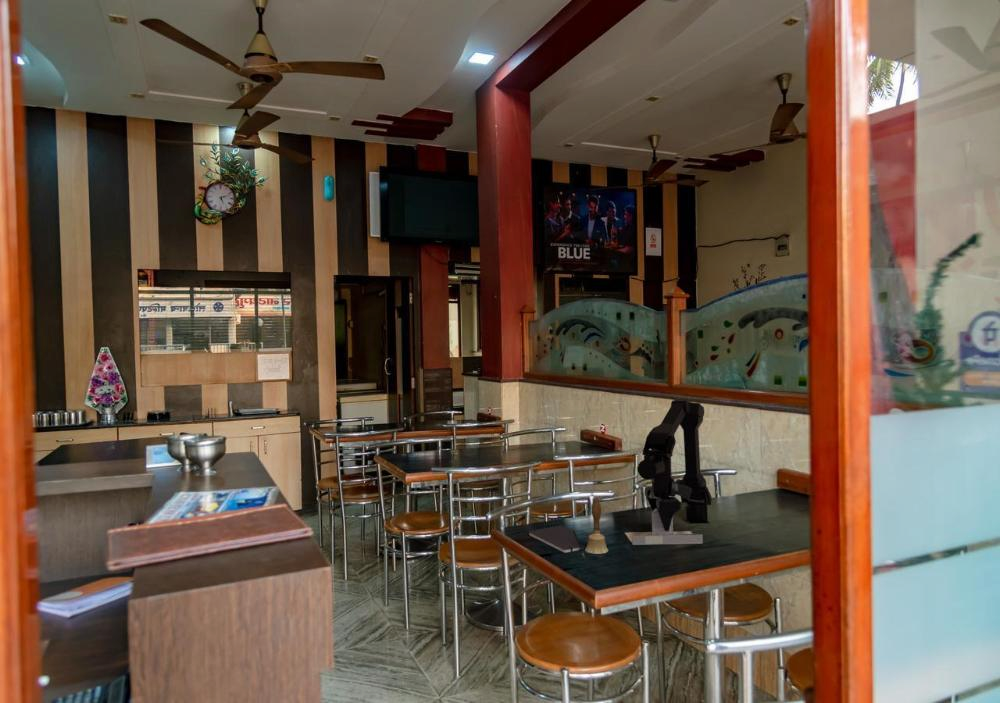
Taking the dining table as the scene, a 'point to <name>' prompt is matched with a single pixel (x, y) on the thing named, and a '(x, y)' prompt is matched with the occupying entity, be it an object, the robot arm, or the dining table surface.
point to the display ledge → (651, 534)
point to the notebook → (558, 538)
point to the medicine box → (659, 525)
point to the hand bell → (596, 532)
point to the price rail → (667, 539)
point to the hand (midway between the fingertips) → (662, 526)
